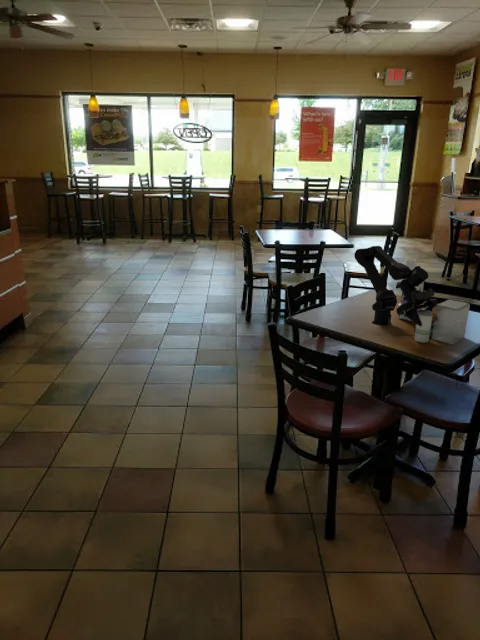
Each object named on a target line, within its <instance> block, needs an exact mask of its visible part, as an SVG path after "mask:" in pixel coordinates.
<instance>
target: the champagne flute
mask: <svg viewBox="0 0 480 640" xmlns="http://www.w3.org/2000/svg"><path fill="white" fill-rule="evenodd" d="M416 263H417V261H416V258H406V259H405V262H404V265H406V266H408V267H409V268H410V270H413V269H414V268H415V267H416V266H417V265H416ZM402 280H404V279H402ZM402 280H400V282H401V281H402ZM397 305H398V307H399V306H400V305H401V302H400V303H397Z"/></svg>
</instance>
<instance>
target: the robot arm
mask: <svg viewBox="0 0 480 640" xmlns="http://www.w3.org/2000/svg"><path fill="white" fill-rule="evenodd" d="M353 257H354V259H355V261H356V262H357V264H358V265H359V266H361V267H362V268H364V270H365V273H366V275H367V277H368V278H369V281H370V283H371V285H372V287H373V289H374V291H375V293H376V294H375V295H376V296H375V302H374V303H373V304H372V305H371V308H372V311H374V316H373V317H374V318H373V321H371V323H372V324H376V325H380V326H383V327H385V326H388V325H389V324H392V321H391V320H392V314H391V312H392V311H394V310H395V308H396V307H397V305H398V299H397V296H396V294H395V291H394V289H388V287H387V286H386V284H385V282H384V281H383V278H382V276H381V274H380V272H379V271H378V269H377V266H376V264H375V259H376V260H377V261H378V262H380V264H382V265H383V267H384V268H386V269H387V272H388V275H389V276H390V277H391V278H392V280H393V281H398V282H397V283H396V286H395V289H397V290H398V289H400V291H401V294H402V293H403V295H404V298H403V300H406V301H407V303H403V304H402V305H400V306H399V305H398V307H397V308H396V311H395V312H396V313H397V316H399V315H403V314H404V311H405V314H404V316H406V317H408V318H409V319H411V321H412V322H414V323H416V324H418V325H419V326H422V323H421V321H420V318H419V316H418V314H417V309H420V310H428V311H431V312H433V309H434V308H435V307H437V305H438V304H440V303H439V301H438V299H437V298H434V296H435V291H434V290H433V288H427V289H425V291H424V290H423V292H421V291H420V290H418V291H417V289H416V287H417V286H419V285H420V284H421V283H423V282H424V283H425V281H426V280H428V279H429V273H428V272H427V271H426V270H425V269H424V268H421V265H416V267H415V268H414V269H413V270H410V268H409V267H408V266H406V265H405V263H401V262H398V261H397V260H395V259H394V258H393V257H392V256H391V255H390V254H389V253H387V252H386V251H385V250H384V249H383V248H382V246H380V245H372V246H369V247H367V248H357V249H356V251H355V252H354V256H353ZM402 279H404V280H402ZM401 280H402V281H401ZM415 286H416V287H415ZM433 322H434V321H433V319H432V322H431V324H433V325H434V323H433Z"/></svg>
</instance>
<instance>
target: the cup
mask: <svg viewBox="0 0 480 640" xmlns="http://www.w3.org/2000/svg"><path fill="white" fill-rule="evenodd" d="M418 316H419V318H420V321H421V323H422V326H419V325H418V324H416V330H415V332H414V337H413V339H414V341H416V342H417V343H428V342H429V339H430V336H429V335H430V330H431V322H432V320H433V316H434V312H433V311H432V312H431V311H428V310H422V309H420V310H419V311H418Z"/></svg>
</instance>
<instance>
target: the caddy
mask: <svg viewBox="0 0 480 640" xmlns="http://www.w3.org/2000/svg"><path fill="white" fill-rule="evenodd" d="M470 306H471V304H470V303H468V302H464V301H459V300H454V299H446V300H445V301H443V302H440V303H439V304H438V305H437V306H436V309H435V315H434V321H433V322H434V323H433V325H434V328H433V334H432V337H431V339H432V340H434V341H438V342H441V343H445V344H450V345H454V344H456V343H457V342H459V341H460V340H462V339H464V338H465V334H466V331H467V323H468V318H469V313H470Z"/></svg>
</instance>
